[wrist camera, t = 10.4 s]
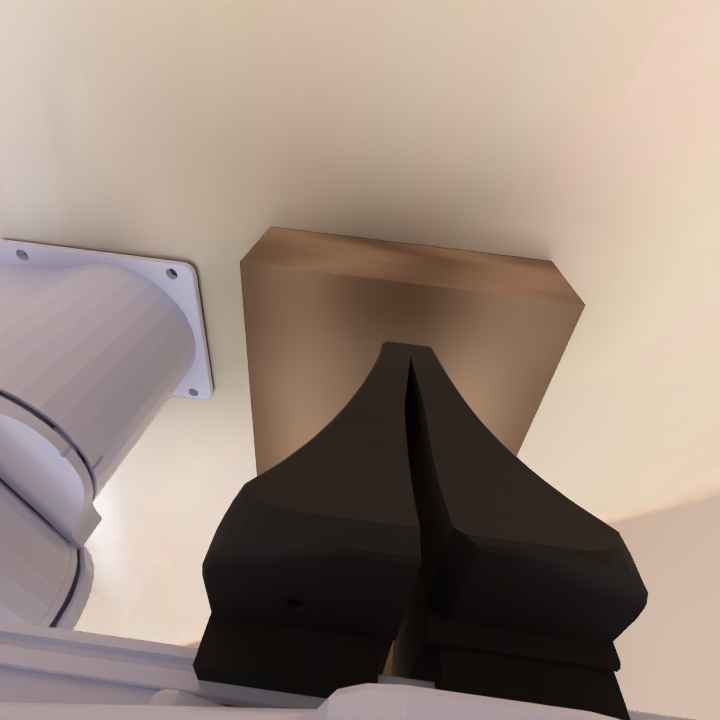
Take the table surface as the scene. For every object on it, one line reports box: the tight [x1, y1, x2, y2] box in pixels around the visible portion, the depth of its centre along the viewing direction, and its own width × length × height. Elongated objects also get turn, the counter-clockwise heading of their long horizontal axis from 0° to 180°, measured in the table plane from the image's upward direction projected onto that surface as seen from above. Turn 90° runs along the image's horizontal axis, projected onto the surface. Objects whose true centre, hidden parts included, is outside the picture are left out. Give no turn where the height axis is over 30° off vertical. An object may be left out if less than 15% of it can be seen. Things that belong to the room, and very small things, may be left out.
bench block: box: [240, 227, 585, 476], centre depth 19 cm, size 12×12×4 cm
